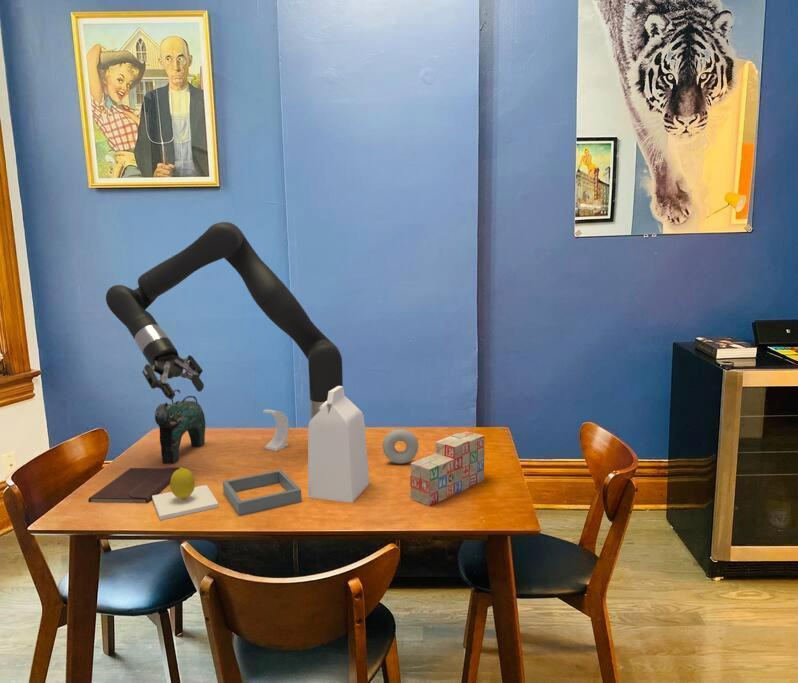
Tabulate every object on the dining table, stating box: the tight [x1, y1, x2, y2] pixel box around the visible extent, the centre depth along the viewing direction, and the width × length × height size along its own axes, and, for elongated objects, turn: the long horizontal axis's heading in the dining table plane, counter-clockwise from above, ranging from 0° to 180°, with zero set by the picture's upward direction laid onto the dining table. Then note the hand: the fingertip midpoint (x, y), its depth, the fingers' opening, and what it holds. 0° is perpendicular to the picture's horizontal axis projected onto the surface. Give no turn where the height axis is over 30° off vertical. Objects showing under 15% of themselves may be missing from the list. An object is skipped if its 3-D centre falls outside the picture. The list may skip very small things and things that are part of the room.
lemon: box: [169, 467, 196, 500], centre depth 146 cm, size 6×6×8 cm
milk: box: [307, 385, 370, 503], centre depth 151 cm, size 12×12×26 cm
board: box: [151, 484, 220, 521], centre depth 146 cm, size 13×13×1 cm
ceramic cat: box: [154, 389, 206, 465], centre depth 180 cm, size 20×6×20 cm, turn 166°
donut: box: [382, 428, 419, 465], centre depth 169 cm, size 10×4×10 cm, turn 88°
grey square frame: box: [222, 469, 303, 517], centre depth 149 cm, size 15×15×3 cm
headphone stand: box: [262, 409, 290, 452], centre depth 185 cm, size 5×6×12 cm
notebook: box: [88, 466, 181, 504], centre depth 157 cm, size 15×20×2 cm
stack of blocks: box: [409, 430, 486, 507], centre depth 151 cm, size 21×6×12 cm, turn 136°
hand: (187, 393), depth 155 cm, fingers open, 8 cm apart
